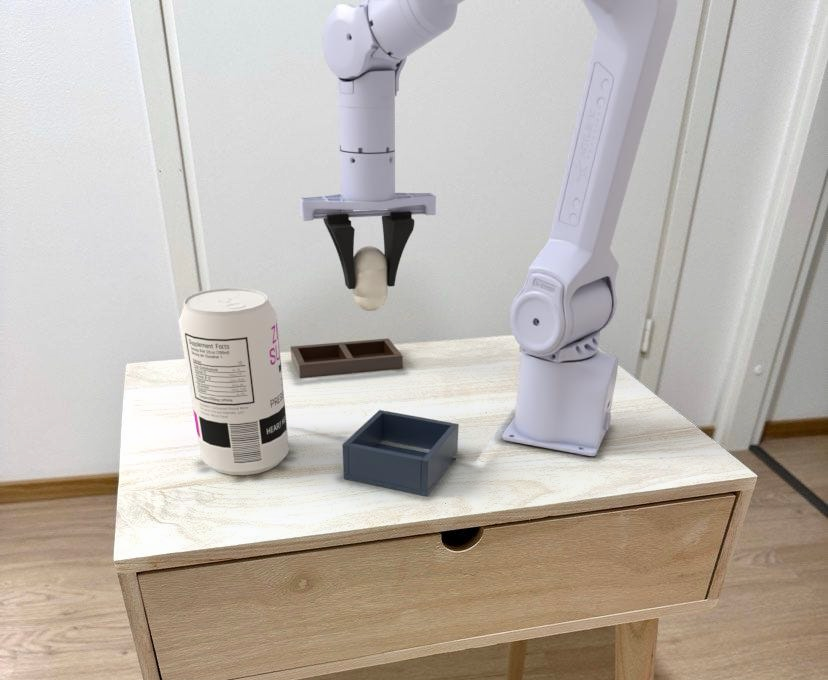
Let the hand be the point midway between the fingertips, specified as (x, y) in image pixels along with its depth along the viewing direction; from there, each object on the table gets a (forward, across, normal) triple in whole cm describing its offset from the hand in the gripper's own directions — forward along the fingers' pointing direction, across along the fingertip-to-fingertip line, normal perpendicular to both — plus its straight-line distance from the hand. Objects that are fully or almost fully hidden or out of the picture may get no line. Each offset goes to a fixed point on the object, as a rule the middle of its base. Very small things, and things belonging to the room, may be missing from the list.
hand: (370, 285), depth 85 cm
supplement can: (+10, +17, +19) cm, 27 cm away
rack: (+10, +3, -2) cm, 11 cm away
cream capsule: (+3, 0, 0) cm, 3 cm away
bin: (+10, +3, +24) cm, 27 cm away
